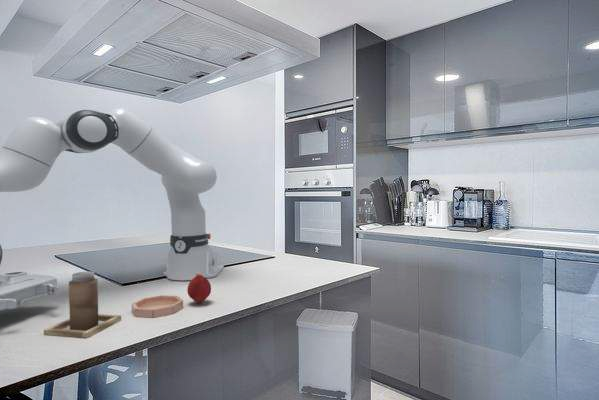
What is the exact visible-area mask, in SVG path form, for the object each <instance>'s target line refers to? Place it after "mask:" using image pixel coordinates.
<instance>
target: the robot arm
mask: <svg viewBox="0 0 599 400" xmlns="http://www.w3.org/2000/svg"><path fill="white" fill-rule="evenodd" d="M109 144H112V145H115V146H117V147H119V148H120V149H122V150H123V151H124V152H125V153H126V154H128V155H129V156H131V157H132V158H133V159H135V160H136V161H137V162H139V163H140V164H141V165H143V166H144V167H146V169H148V170H150V171H152V172H155V173H157V174H158V175H161V182H162V185H163V186H164V189H165V190H166V191H165V192H166V195H167V199H168V203H169V207H170V216H171V217H170V219H171V220H170V221H171V222H170V223H171V235H170V237H169V242H170V249H169V250H168V251H167V255H166V256H167V258H166V260H167V261H166V270H165V271H163V276H165V277H166V279H168V280H172V281H191V280H192V279H193V278H194V277H196V274H197V272H199V273H200V274H201V275H202V276H203V277H205V278H206V279H208V278H209V279H210V278H215V277H217V276H218V275H219V274H220V272H221V271H222V270H224V269H225V266H224V265H222V264H219V263H218V254H217V252H216V251H215V250H214V249H213V248H212V246H210V244H209V240H211V238H212V235H211V233H206V232H207V231H206V210H205V208H204V207H203V205H202V203H201V200H200V197H199V194H203V193H205V192H208V191H209V190H211V189H212V188H213V187H215V184H216V182H217V178H218V177H217V171H216V169H215V167H214V166H213V165H212V164H211V163H210V162H207V161H204V160H202V159H200V158H198V157H196V156H194V155H193V154H192V153H190V152H188V151H187V150H185V149H183V148H181V147H179V146H178V145H176V144H175V143H174V142H172V141H170V140H169V139H168V138H167V137H165V136H164V135H163V134H162V133H161V132H159V131H158V130H157V129H156V128H154V127H153V126H152V125H151V124H150V123H148V121H146V120H144V119H143V118H141V117H140V116H139V115H137V114H136V113H134V112H132V111H130V110H129V109H127V108H125V107H116V108H113V109H110V110H109V111H108V112H107V113H104V112H101V111H97V110H91V109H82V110H76V111H75V112H73V113H71V114H68V115H67V116H66V117H65V118H63V120H60V121H59V122H55V121H52V120H50V119H48V118H45V117H42V116H41V117H40V116H29V117H27V118H25V119H24V120H23V121H21V123H19V125H18V126H17V127H16V128H15V129H14V130H13V131H12V132H11V134H10V135H9V137H8V138H7V139H6V141H5V142H4V143H3V144H2V146H1V148H0V193H4V192H5V193H7V192H8V193H9V192H10V193H11V192H12V193H13V192H14V193H19V192H25V191H30V190H32V189H35V188H37V187H38V186H40V185H41V184H42V183H43V182H44V181H45V180H46V178H47V177H48V175H49V173H50V172H51V169H52V167H53V166H54V164H55V162H56V160H57V159H58V157H59V156H60V155H61V153H63V152H64V151H66V152H70V153H76V154H89V153H94V152H96V151H98V150H100V149H103V148H105V147H106V146H108V145H109ZM2 260H3V248H2V245H1V244H0V266H1V264H2ZM60 289H61V288H60V286H59V285H58V280H57V278H56V277H55V276H52V275H46V274H33V273H32V274H28V273H27V271H18V272H17V271H16V272H9V273H0V311H1V310H5V309H9V310H11V309H13V310H14V309H16V308H20V307H21V306H22V303H26V302H28V301H31V300H34V299H35V300H36V299H37V298H40V297H43V296H55V295H58V294H60V291H61V290H60Z"/></svg>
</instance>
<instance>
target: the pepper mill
mask: <svg viewBox="0 0 599 400" xmlns="http://www.w3.org/2000/svg"><path fill="white" fill-rule="evenodd" d="M71 278H72V279H71V280H70V281H68V295H69V296H68V297H69V298H68V300H69V301H68V302H69V319H70V325H69V330H81V331H87V330H89V329H91V328H93V327H95V326H97V325H99V320H98V314H99V289H98V288H99V287H98V284H99V282H98V281H99V280H98V278H96V277H95V272H94V271H80V272H75V273H72V274H71Z"/></svg>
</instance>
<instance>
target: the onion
mask: <svg viewBox="0 0 599 400" xmlns="http://www.w3.org/2000/svg"><path fill="white" fill-rule="evenodd" d="M211 293H212V285H211V282H210V281H209V279H208V278H205V277H203V276H202V275H201V274H200V273H199V272H197V274H196V277H194V278H193V279H192V280H189V283H188V285H187V295H188V297H189V298H190V299H191V300H192V301H194V302H195V303H196V304H202V303H203V302H204V301H206V300H207V298H208V297H209V296H210V295H211Z"/></svg>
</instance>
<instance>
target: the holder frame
mask: <svg viewBox="0 0 599 400" xmlns="http://www.w3.org/2000/svg"><path fill="white" fill-rule="evenodd" d="M121 320H122V315H119V314H118V315H117V314H101V313H98V321H103V322H101V323H98V325H97V326H95V327H93V328H91V329H89V330H87V331H81V330H70V329H66V328H67V327H70V318H68V319H65V320H64V321H61V322H59V323H56V324H54V325H52V326H49V327H46V328H44V329H43V335H46V336H56V337H68V338H78V339H88V338H90V337H92V336H93V335H95V334H98V333H100V332H101V331H104V330H105V329H107V328H109V327H111V326H112V325H114V324H117V323H119V322H120V321H121Z"/></svg>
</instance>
